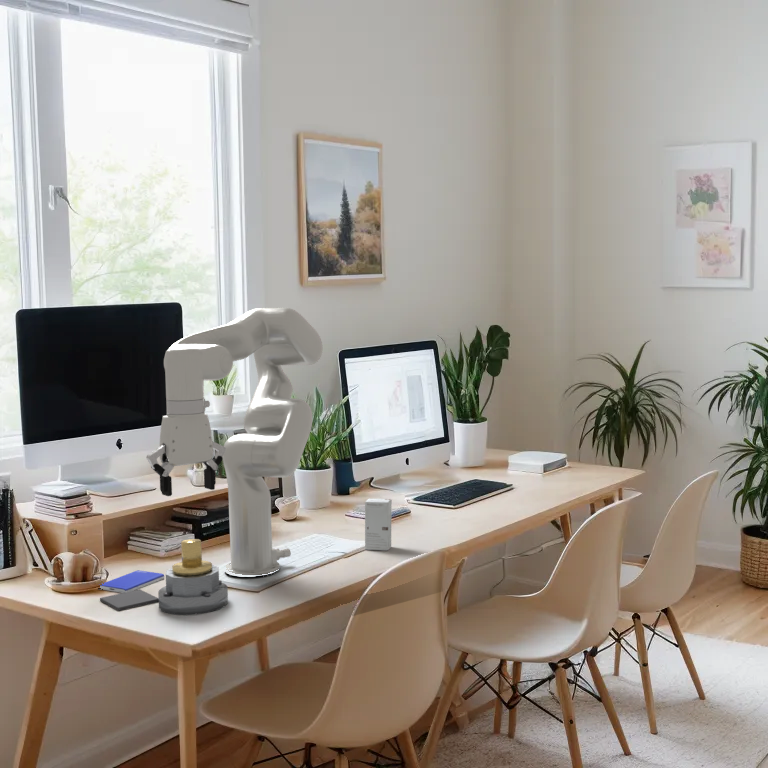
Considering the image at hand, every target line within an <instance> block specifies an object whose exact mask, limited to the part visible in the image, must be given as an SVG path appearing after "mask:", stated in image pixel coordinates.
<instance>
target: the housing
mask: <svg viewBox="0 0 768 768" xmlns="http://www.w3.org/2000/svg"><path fill="white" fill-rule="evenodd" d="M219 570H220V568H219V566H217V565H214V564H212V570H211V571H210V572H208V573H205V574H200V575H192V576H183V575H176V574H174V573H173V572H172V567H170V568H169V569H166V571H165V586H163V587H161V588H160V589H158V593H157V595H158V597H157V598H159V602H158V609H159V610H160V611H161V612H164V613H166V614H171V615H179V616H185V615H186V616H187V615H188V616H189V615H190V616H191V615H201V614H207V613H212V612H215V611H218V610H220V609H222V608H224V607H226V606H227V605H228V603H229V591H228V590H229V589H228V585H227V584H226V583H224V582H222V580H220V574H219V573H220V571H219Z"/></svg>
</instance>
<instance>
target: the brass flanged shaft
mask: <svg viewBox="0 0 768 768" xmlns="http://www.w3.org/2000/svg"><path fill="white" fill-rule="evenodd" d="M180 544H181V562H180V561H179V562H177V563H174V564H172V567H171V568H172V572H173V573H174V574H176V575H183V576H192V575H200V574H205V573H208V572H210V571H211V570H212V565H213V563H212V562H211V561H208V560H204V559H203V557H202V555H203V554H202V552H203V551H202V540H201V539H199V538H190V539H189V538H188V539H184V540H182V541H181V542H180Z"/></svg>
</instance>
